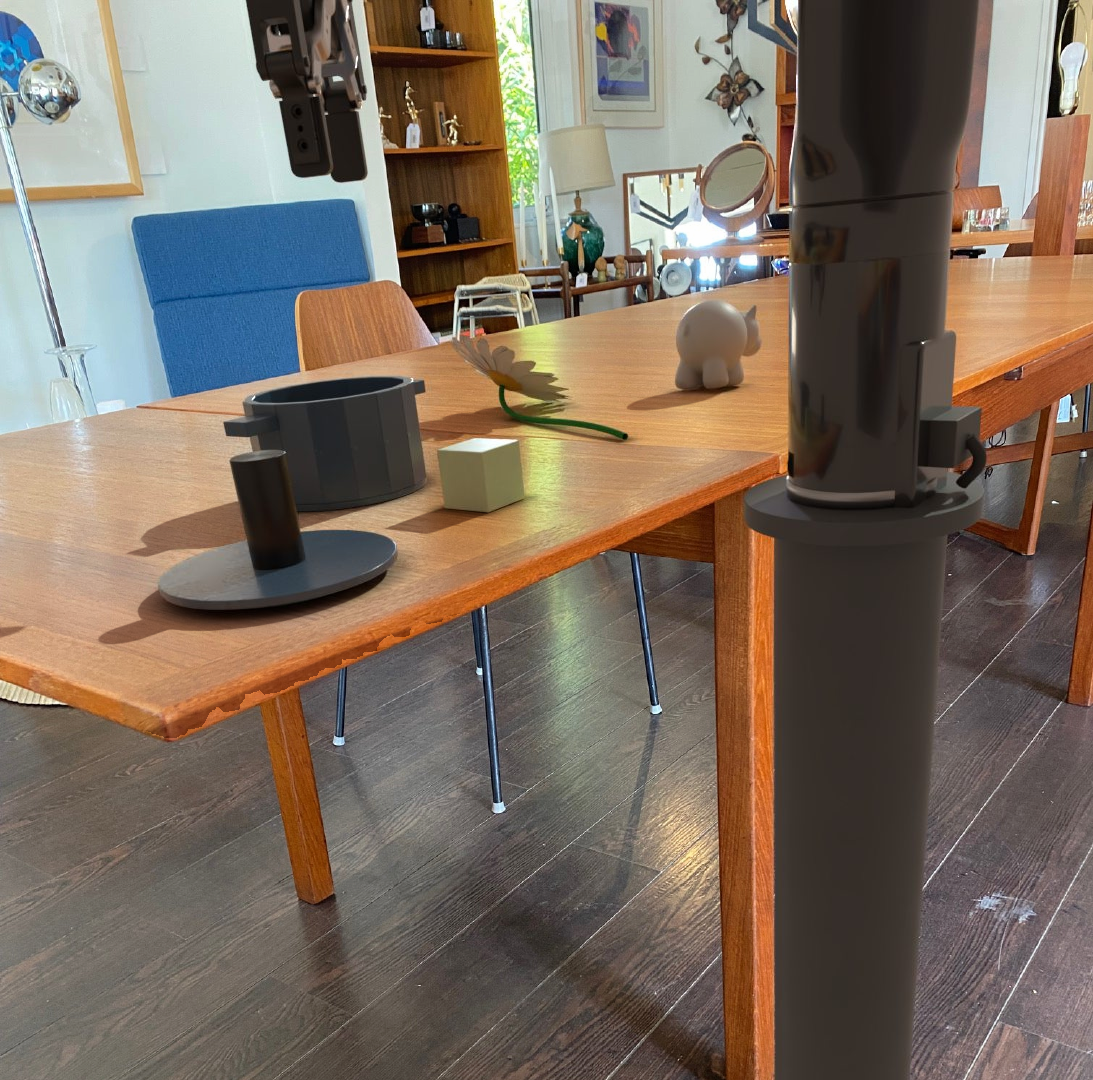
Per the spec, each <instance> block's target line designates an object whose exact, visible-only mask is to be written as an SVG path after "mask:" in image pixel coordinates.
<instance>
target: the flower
mask: <svg viewBox="0 0 1093 1080" xmlns="http://www.w3.org/2000/svg"><path fill="white" fill-rule="evenodd" d="M451 340H452V342H453V343H452V344H451V347H453V350H455V352H456V353H457V354H458V355H459V357H461V358H463V360H464V361H465V362H466V363H467V364H468V365H469V366H470V367H472V368H473V369H475V371H476V372H477V373H479V374H480V375H482V376H484V377H486V378H488V379H489V380H492V382H493V383H494V384H495V385H496V386H498V400H499V403H500V406H501V408H502V410H503V411H504V412H505V414H507V415H508V416H510V417H511V418H513V419H515V420H517V421H520V422H525V423H530V424H540V425H552V426H553V425H554V426H563V427H564V426H565V427H574V428H580V429H581V428H582V429H587V430H593V431H597V432H600V433H605V434H608V435H610V436H613V437H616V438H619V439H620V440H621V439H622V440H624V441H626V440H628V439H629V434H628V433H626V432H624V431H622V430H619V429H616V428H613V427H610V426H607V425H603V424H600V423H595V422H589V421H585V420H577V419H566V418H556V417H555V418H553V417H539V416H530V415H524V414H520V413H518V412H516V411H514V410H513V409H511V408H510V406H509V405H508V403H507V401H506V398H505V397H506V396H505V390H506V391H508V392H514V393H516V394H520V395H523V396H525V397H527V398H530V399H535V400H539V401H543V402H546V403H553V402H557V403H563V404H566V401H562V400H570V401H571V400H572V399H571V396H569V395H566V394H562V393H560V392H564V391H570V389H569V388H567V387H561V386H557V385H553V383H555V382H557V381H559V377H556V376H555V373H552V372H542V371H541V372H540V371H532V370H534V368H535V367H536V365H537V362H536V361H534V360H522V361H515V362H514V359H515V358H516V357H515V356H516V355H515V351H514V350H513V349H509V348H508V346H505V345H501V346H497V347H496V348H495V349H493V350H492V351H490V345H489V342H488V340H487V339H486V338H479V339H478V341H477V342H476V348H475V345H474V342H473V341H472V338H471V337H470V336H469V335H467V334H459V340H458V339H457V337H455V336H452V338H451Z"/></svg>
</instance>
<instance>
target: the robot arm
mask: <svg viewBox="0 0 1093 1080" xmlns="http://www.w3.org/2000/svg"><path fill="white" fill-rule="evenodd" d="M353 1H354V0H245V3H246V10H247V16H248V22H249V28H250V29H249V30H250V34H251V38H252V45H253V46H252V47H253V52H254V58H255V68H256V73H258V76H259V79H260V80H261V81H262V82H267V81H268V85H269V86H268V87H269V89H270V92H271V93H272V96H273V98H274V99H276V100H279V101H278V105H279V110H280V115H281V121H282V128H283V133H284V137H285V144H286V150H287V154H288V160H289V167H290V171H291V173H292V174H293V175H294V176H295V177H297V178H300V179H308V178H316V177H325V176H329V175H330V178H331V179H332V180H333V181H334V182H336V183H339V184H343V183H344V184H345V183H353V182H361V181H364V180H366V178H368V174H369V173H368V172H369V171H368V164H367V157H366V150H365V143H364V137H363V131H362V126H361V125H362V124H361V118H360V112H359V111H357V110H362V105H363V104H362V103H363V102H364V101H365V102H366V100H367V94H368V89H367V88H368V87H367V85H366V84H365V77H364V70H363V65H362V57H361V51H360V46H359V45H360V44H359V38H358V33H357V26H356V20H355V14H354V8H353V7H354V6H353ZM980 1H981V0H785V7H786V12H787V16H788V19H789V22H790V24H791V27H792V30H793V32H794V33H795V35H796V97H795V98H796V99H795V104H796V105H795V116H794V117H795V119H794V129H793V137H792V138H793V139H792V145H791V146H792V147H791V154H790V159H789V168H788V171H789V172H788V206H789V207H790V208H789V211H788V263H789V264H788V357H787V358H788V366H787V367H788V371H787V373H788V374H787V375H788V376H787V379H788V383H787V385H788V386H787V391H788V392H787V457H788V458H787V461H786V472H787V475H788V476H787V497H788V498H789V499H790V500H792V501H794V502H797V503H800V504H803V505H807V506H811V507H818V508H825V509H838V510H865V509H880V508H892V507H898V508H914V507H916V506H917V505H919V504H920V503H922V502H923V501H925V500H926V499H928V498H929V497H931V496H933V495H934V494H935V493H936V492H938V491H939V490H941V489H942V488H944V487H945V486H946V484H947V472H948V469H955V468H956V467H957V466H960V465H961V464H962V463H964V462H965V461H966V460H968V459H970V458H971V457H972V460H971V464H970V466H969V467H968V468H967V469H966V470H965V471H964V472H962V474H960V475H961V476H960V477H959V478H958V479H957V481H956V484H957V485H958V486H959V487H961V488H965V489H966V488H967V487H968V486H969V485H970V483H971V482H972V481H974V480H975V481H976V479H977V478H978V477H979V476H980V475H981V474H982V473H983V471H984V469H985V467H986V464H987V459H988V457H987V450H986V449H985V446H984V445H983V443H982V442H981V440H980V435H981V423H982V410H983V408H982V406H964V405H963V406H959V405H958V406H957V405H956V406H955V405H954V406H953V394H954V393H953V392H954V381H955V379H954V377H955V366H956V365H955V364H956V352H957V351H956V350H957V349H956V348H957V333H956V332H955V331H954V330H952V329H948V330H947V329H946V325H947V324H946V323H947V310H948V293H949V276H950V264H951V262H950V261H951V248H952V247H951V246H952V233H953V231H952V229H953V218H954V217H953V215H954V199H955V193H954V192H953V191H954V190H955V187H956V186H955V184H956V171H957V165H958V164H957V163H958V157H959V152H960V149H961V145H962V143H963V140H964V137H965V133H966V129H967V126H968V120H969V115H970V108H971V101H972V100H971V98H972V90H973V80H974V79H973V78H974V69H975V57H976V47H977V35H978V25H979V13H980V4H981V3H980ZM333 77H340V78H341V80H335V81H334V78H333ZM280 99H281V100H280Z"/></svg>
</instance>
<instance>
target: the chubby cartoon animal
mask: <svg viewBox="0 0 1093 1080" xmlns="http://www.w3.org/2000/svg"><path fill="white" fill-rule="evenodd" d="M757 307H758V306H757V304H755V305H753V306H751V307H750V308H749V309H748V311H741V310H740V311H739V310H738V308H736V307H735V306H733V304H730V303H728V302H727V301H724V300H719V299H708V300H703V301H701V302H698V303H696V304H694V305H693V306H691V307H689V309H688V310H687V311H686V312H684V314H683V316H682V318H680V321H679V323H678V326H677V329H676V333H675V345H676V350H677V353H678V356H679V359H680V360H679V363H678V366H677V369H676V372H675V375H674V376H675V377H674V385H675V387H676V388H677V389H680V390H687V391H689V390H690V391H693V390H696V389H698V388H699V387H704V388H706V389H709V390H712V389H714V390H715V389H720V388H723V387H732V386H733V387H734V386H739V385H741V384H742V383H743V382H744V379H745V372H744V367H743V365H742V361H741V358H742V357H745V358H746V357H752V356H755V355H757V353H758V352H759V351H760V349H761V347H762V341H763V340H762V338H761V335H760V333H761V332H760V324H759V321H758V319H757V317H756V314H757Z"/></svg>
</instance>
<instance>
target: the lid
mask: <svg viewBox="0 0 1093 1080" xmlns="http://www.w3.org/2000/svg"><path fill="white" fill-rule="evenodd" d="M229 465H230V470H231V475H232V480H233V484H234V488H235V493H236V497H237V501H238V502H237V503H238V507H239V511H240V516H241V520H242V526H243V529H244V534H245V538H246V540H242V541H238V542H233V543H229V544H226V545H222V546H219V547H216V548H211V549H209V550H207V551H204V552H200V553H198V554H195V555H193V556H191V557H188V558H185V559H183V560H182V561H180V562H178V563H177V564H174V565H173V566H171V567H169V568H168V569H167V570H165V572H163V573H162V574H161V576H159V578H158V581H157V589H158V593H159V595H160V597H161V598H162V599H163V600H165V601H166V602H167V603H171V604H172V605H175V606H179V607H183V608H187V609H194V610H195V609H198V610H207V611H208V610H212V611H214V610H215V611H217V610H218V611H226V610H227V611H228V610H254V609H255V610H256V609H267V608H275V607H280V606H288V605H294V604H298V603H303V602H309V601H312V600H315V599H319V598H322V597H326V596H328V595H329V596H330V595H332V594H336V593H339V592H342V591H345V590H348V589H350V588H353V587H356V586H359V585H361V584H364V583H366V582H368V581H371V580H372V579H374V578H376V577H379V576H380V575H382V574H383V573H385V572H386V571H387V570H389V569H391V567H392V566H393V565H394V564H395V562H397V560H398V555H399V553H398V548H397V547H398V546H397V544H396V542H395V541H394V540H393V539H392V538H390V537H388V536H387V535H383V534H381V533H376V532H371V531H365V530H356V529H355V530H354V529H315V530H303V531H301V526H300V521H299V516H298V511H296V505H295V500H294V495H293V490H292V485H291V480H290V475H289V470H288V465H287V459H286V454H285V452H284V451H282V450H263V451H255V452H253V451H249V452H245V453H240V454H238V455H234V456H232V457H230V458H229Z"/></svg>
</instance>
